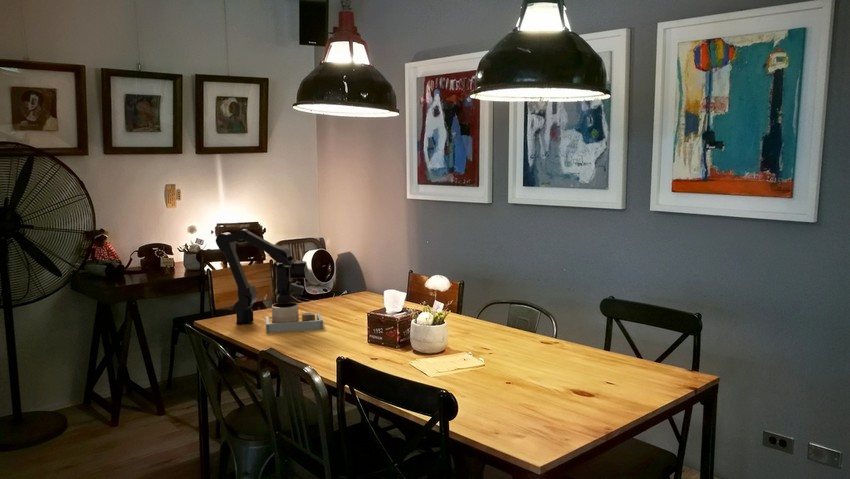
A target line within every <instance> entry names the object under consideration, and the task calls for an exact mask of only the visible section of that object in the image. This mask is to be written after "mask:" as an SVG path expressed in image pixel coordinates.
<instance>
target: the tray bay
mask: <svg viewBox="0 0 850 479" xmlns="http://www.w3.org/2000/svg"><path fill="white" fill-rule="evenodd" d="M321 315H322V314H320V312H318V313H316V319H315V321H302V320H301V321H299V322H286V323H272V322H271V323H270V318H269V317H270V316H265V328H266V329H265V331H266V334H271V333H272V334H273V333H287V332H301V331H303V332H304V331H316V330H324V320H323V317H322V316H321Z"/></svg>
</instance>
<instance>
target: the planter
mask: <svg viewBox="0 0 850 479" xmlns="http://www.w3.org/2000/svg"><path fill="white" fill-rule="evenodd" d="M299 315H300V314H299V303H297V302H294V301H292V302H281V303H278V302H276V303H273V304H271V323H286V322H300V316H299Z"/></svg>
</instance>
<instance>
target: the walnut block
mask: <svg viewBox="0 0 850 479" xmlns="http://www.w3.org/2000/svg"><path fill="white" fill-rule="evenodd" d="M301 321H316V314H315V312H314V311H312V312H302V313H301Z"/></svg>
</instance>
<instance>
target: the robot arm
mask: <svg viewBox="0 0 850 479" xmlns="http://www.w3.org/2000/svg"><path fill="white" fill-rule="evenodd" d="M240 240H243V241H245V242H247V243H248V244H250V245H252V246H254V247H256V248H257V249H260V251H263V252H264V253H266V254H267V255H268V256H269V257H270V258H271V259H272V260H274V263H272V265H271V266H270V269H275V284H276V285H275V286H276V289H275V295H276V303H281V302H294V301H293V294H292V293H295V294H298V295H300V296H303V294H304V293H303V292H304V291H305V286H303V285H302V284H301V282H300V281H299V280H298V281H295V282H292V280H291V278H292V279H308V277H309V268H308V264H307V261H301V262H299V261H296V260H295V259H294V257H293V256H292V254H291V251H290V249H289V248H287V247H284V246H282V245H277V244H274V243H271V242H269V241H268V240H266V239H264V238H262V237H260V236H259V235H256V234H255V233H254V232H251V231H250V230H248V229H247V228H243V229H240V230H238V231H234V232H228V231H227V232H223V233H219V234H218V235H217V236H216V237H215V243H216V246H217V247H218V249H219V250H220V252H221V253H223V255H224V256H225V258H226V261H227V263H228V266H229V269H230V272H231V274H232V276H233V279H234V281H235V284H236V287H237V299H238V300H237V301H236V302H235V303H234V304H233V309H234V311H236V312H235V313H236V315H235V316H236V323H235V324H236V325H245V324H253V322H254V310H253V309H252V307H253V306H254V303H255V302H257V299H258V292H257V290H256V286H255V285H254V284H253V285H251V284H250V283H249V282H248V280H247V276H246V274H245V271H244V269H243V266H242V263H241V261H240V258H239V256H238V253H237V243H236V242H237V241H240Z"/></svg>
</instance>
